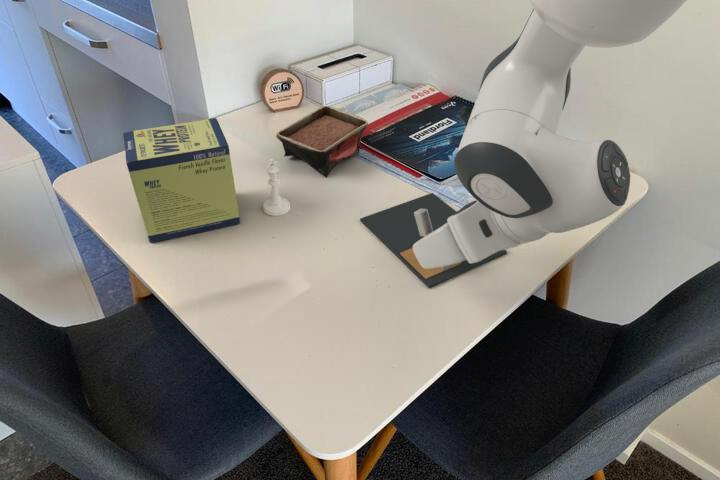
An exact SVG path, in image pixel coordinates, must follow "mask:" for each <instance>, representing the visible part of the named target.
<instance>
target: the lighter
mask: <svg viewBox="0 0 720 480" xmlns="http://www.w3.org/2000/svg"><path fill="white" fill-rule="evenodd" d="M414 216H415V219H416V223H417V226H418V230H419V234H420V236H423V237H425V236H427V235H428V234H430V233H432V232H433V228H432V224H431V221H430V217H429V213H428V209H419V210H417V211H415V212H414ZM450 266H451V265H448V266H443V267H438V268H440V269H442V270H443V271H445V270H446V269H448V268H449V267H450Z"/></svg>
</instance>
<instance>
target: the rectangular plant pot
mask: <svg viewBox="0 0 720 480" xmlns="http://www.w3.org/2000/svg"><path fill="white" fill-rule="evenodd" d="M368 125H369V121H368V120H366V119H365V118H363V117H361V116H359V115H356V114H354V113H351V112H348V111H346V110H343V109H339V108H336V107H334V106H329V105H322V106H320V107H319V108H316V109H315V110H313V111H311V112H310V113H308V114H307V115H305V116H303V117H301V118H300V119H298V120H296V121H294V122H292V123H291V124H289V125H288V126H286V127H284V128H282V129H281V130H279V131H278V132H276V135H275V137H276V138H277V140H279V142H281V144H282V147H283V150H284V155H283V157H294V156H295V157H296V156H297V157H299V158H300V159H301V160H302V161H303V162H305V163H306V164H307V165H308V166H309V167H311V169H313V170H314V171H316V172H317V173H319V174H320V175H322V176H323V177H325V178H328V176H329V174H330V173H331V171H332V170H333V169H334V168H335V166H336V165H338V163H340V161H341V160H342V159H343V160H344V159H349V158H351V157H352V156H354V155H356V154H357V155H360V146H359V142H360V140H361V137H362V135H363V133H364V132H365V130H366V128H367V127H368Z"/></svg>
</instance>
